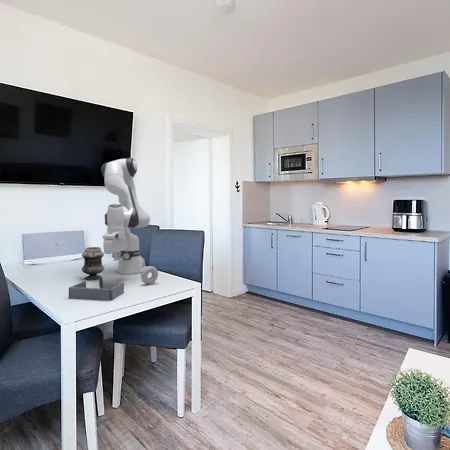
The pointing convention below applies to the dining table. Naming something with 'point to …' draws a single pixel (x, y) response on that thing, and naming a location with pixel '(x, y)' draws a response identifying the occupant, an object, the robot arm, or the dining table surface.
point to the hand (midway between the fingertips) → (116, 260)
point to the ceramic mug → (108, 281)
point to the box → (95, 292)
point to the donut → (145, 273)
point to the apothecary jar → (92, 262)
